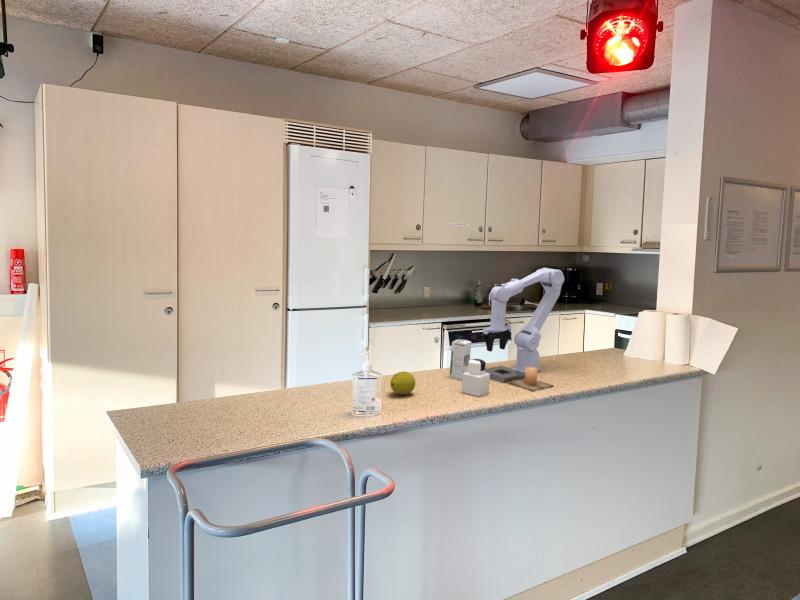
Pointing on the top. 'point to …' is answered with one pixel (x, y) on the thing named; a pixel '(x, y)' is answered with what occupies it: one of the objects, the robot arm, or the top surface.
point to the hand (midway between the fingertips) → (495, 350)
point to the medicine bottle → (476, 378)
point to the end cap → (531, 375)
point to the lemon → (402, 383)
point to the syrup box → (459, 358)
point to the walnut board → (538, 385)
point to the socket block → (504, 374)
